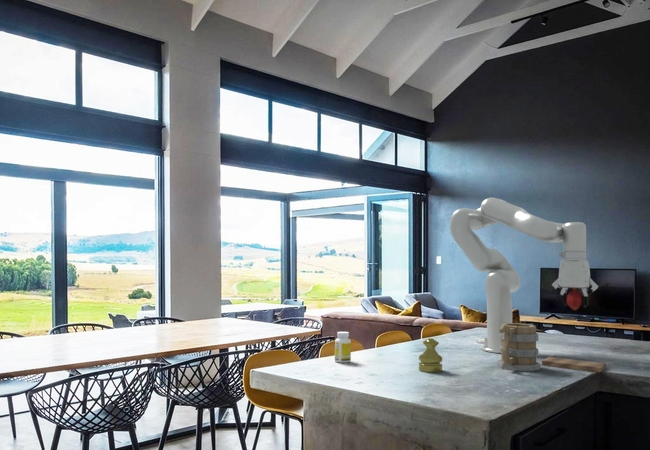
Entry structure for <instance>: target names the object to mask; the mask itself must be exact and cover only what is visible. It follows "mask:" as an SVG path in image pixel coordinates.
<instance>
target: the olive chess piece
mask: <svg viewBox="0 0 650 450" xmlns="http://www.w3.org/2000/svg"><path fill="white" fill-rule="evenodd" d="M422 344H423V345H424V346H425V348H426V349H425V350H424V351H423V352H422V353H421V354H419V356H418V360H419V361H420V362H418V369H419V371H420V372H424V373H432V374H434V373H441V372H442V371H443V364H442V362H443V356H442V355H441V354H439V352H438V351H437V350H436V347H437V346H439V344H440V343H439V341H437V340H436V339H435V338H432V337H429V338H427V339H425V340H423V341H422Z"/></svg>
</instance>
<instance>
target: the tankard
mask: <svg viewBox="0 0 650 450" xmlns="http://www.w3.org/2000/svg"><path fill="white" fill-rule="evenodd" d="M499 332H500V338H501V339H502V345H501V346H500V353H499V354H501V358H500V359H498V360H497V363H496V364H497V366H498V367H500V368H501V369H503V370H509V371H516V372H535V370H536V371H539V370H541V368H542V363H539V362H537V357H538V356H539V348H537V342H539V333H537V326H536V325H534V324H528V323H519V322H518V323H517V322H514V323H513V322H512V323H505V324H502V325H501V327H500V328H499Z"/></svg>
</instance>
